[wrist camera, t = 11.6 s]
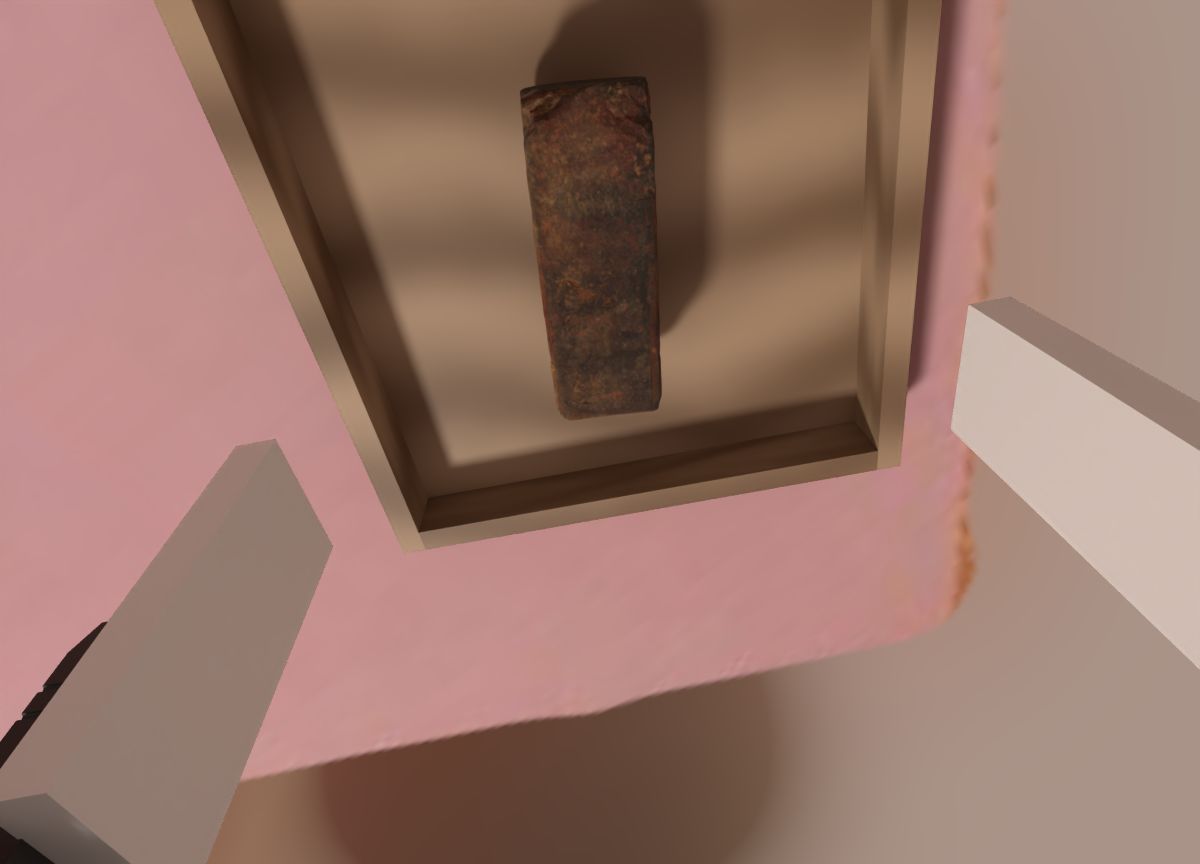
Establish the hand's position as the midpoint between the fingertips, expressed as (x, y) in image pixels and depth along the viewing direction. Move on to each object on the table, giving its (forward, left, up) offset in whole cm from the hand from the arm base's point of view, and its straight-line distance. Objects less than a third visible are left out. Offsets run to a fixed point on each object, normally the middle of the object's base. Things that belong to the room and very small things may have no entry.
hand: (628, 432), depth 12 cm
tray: (0, 0, -15) cm, 15 cm away
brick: (0, 0, -14) cm, 14 cm away
